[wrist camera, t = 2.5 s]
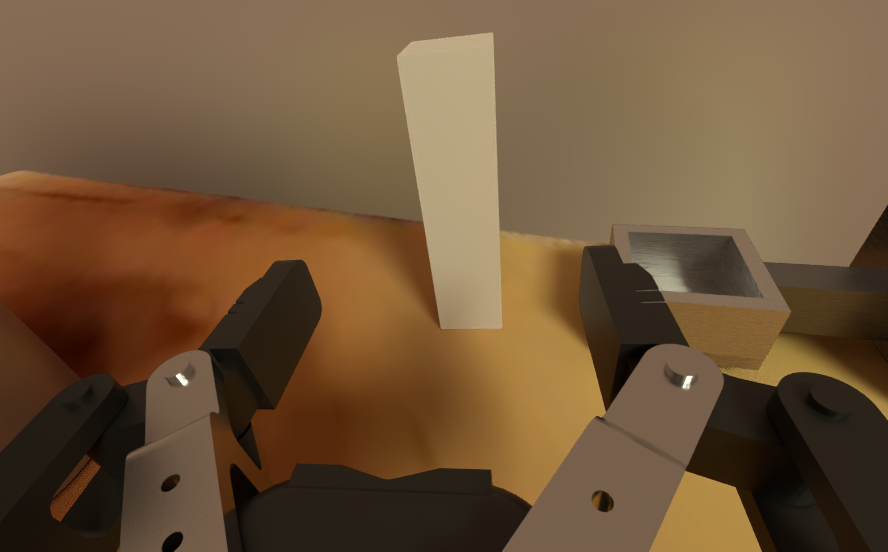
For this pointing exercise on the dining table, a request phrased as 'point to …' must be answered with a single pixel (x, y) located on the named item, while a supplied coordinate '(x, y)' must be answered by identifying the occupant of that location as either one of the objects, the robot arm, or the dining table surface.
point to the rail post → (457, 172)
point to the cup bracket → (758, 290)
